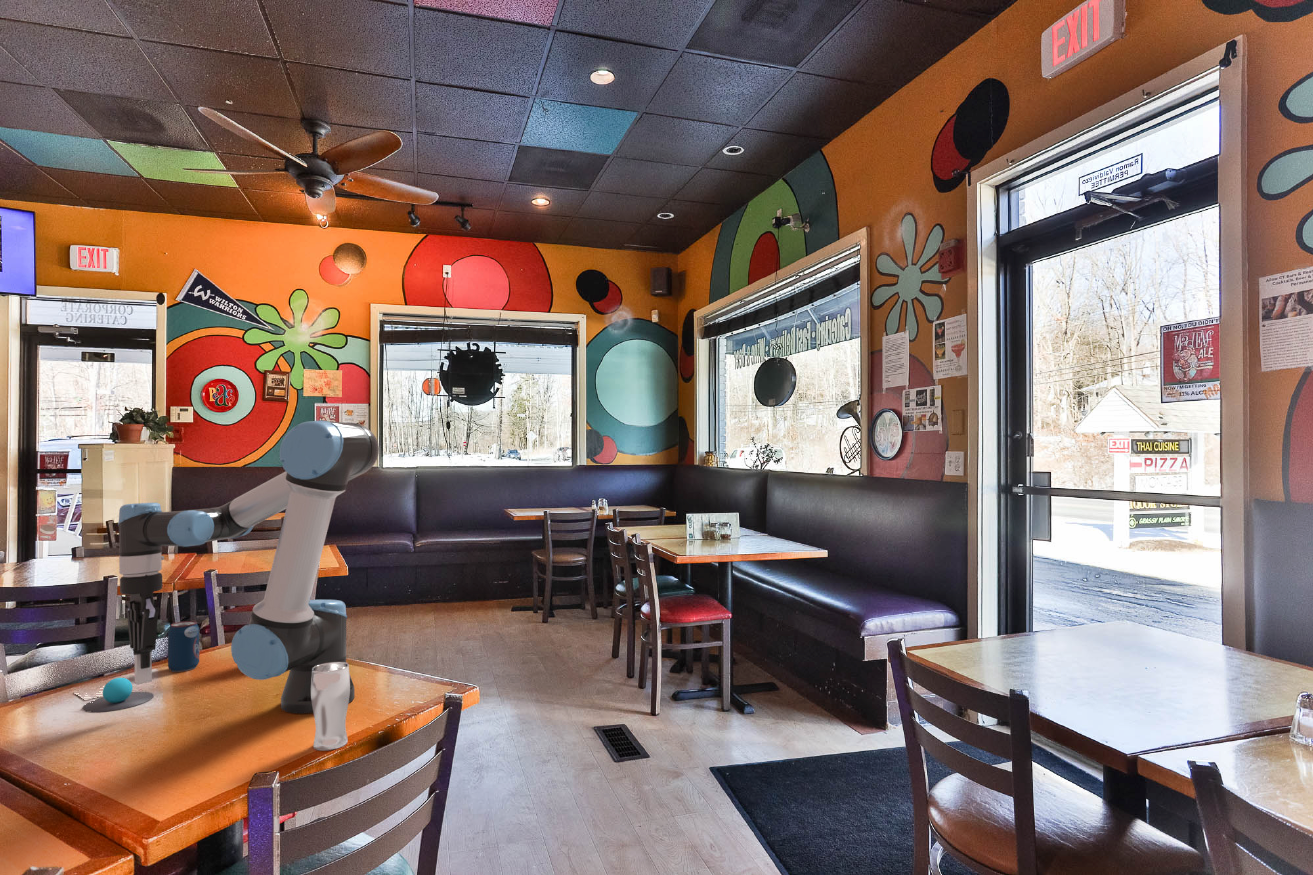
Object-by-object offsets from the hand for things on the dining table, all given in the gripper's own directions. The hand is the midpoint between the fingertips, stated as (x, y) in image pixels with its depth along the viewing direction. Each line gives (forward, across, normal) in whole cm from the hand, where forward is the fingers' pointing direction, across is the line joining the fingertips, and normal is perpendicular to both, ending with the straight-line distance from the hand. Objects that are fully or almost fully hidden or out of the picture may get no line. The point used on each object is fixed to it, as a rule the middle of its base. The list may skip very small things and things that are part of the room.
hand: (143, 682), depth 156 cm
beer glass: (+9, -49, -16) cm, 52 cm away
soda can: (+7, +32, -19) cm, 37 cm away
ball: (+4, +15, +1) cm, 15 cm away
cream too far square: (+6, +27, 0) cm, 28 cm away
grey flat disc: (+7, +15, 0) cm, 16 cm away
